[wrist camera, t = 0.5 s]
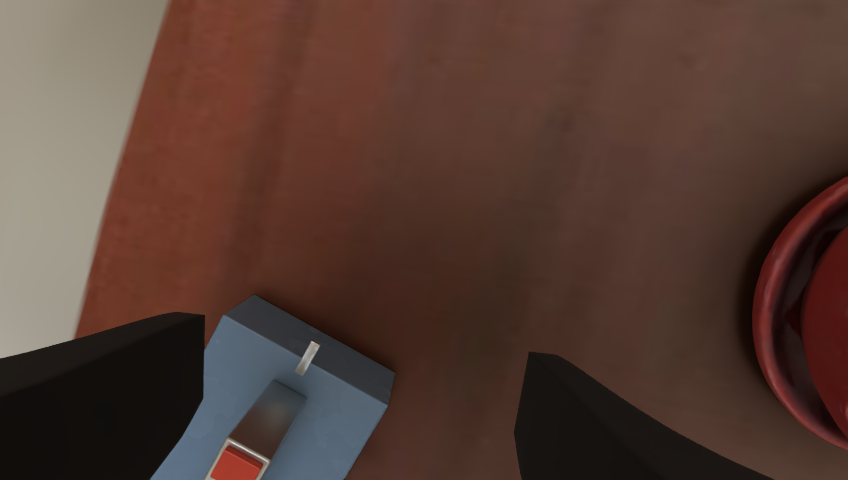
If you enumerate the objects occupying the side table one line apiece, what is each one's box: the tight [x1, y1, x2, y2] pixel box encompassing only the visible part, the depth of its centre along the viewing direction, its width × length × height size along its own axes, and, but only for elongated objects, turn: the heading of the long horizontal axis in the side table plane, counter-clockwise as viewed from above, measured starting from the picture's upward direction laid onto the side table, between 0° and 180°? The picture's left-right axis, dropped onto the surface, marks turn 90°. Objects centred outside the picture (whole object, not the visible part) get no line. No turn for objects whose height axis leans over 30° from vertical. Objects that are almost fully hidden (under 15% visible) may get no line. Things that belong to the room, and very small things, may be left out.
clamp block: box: [150, 295, 395, 480], centre depth 20 cm, size 10×10×3 cm
